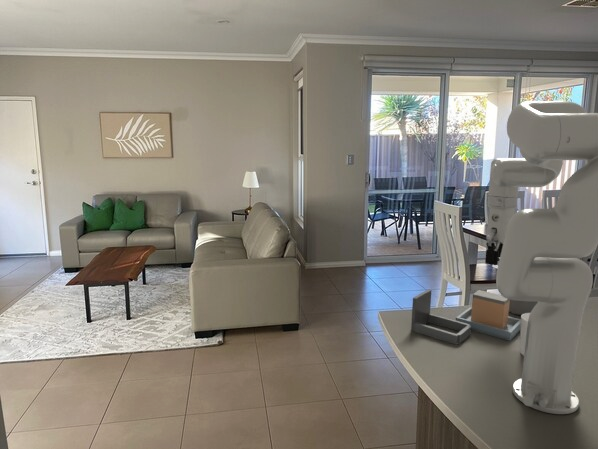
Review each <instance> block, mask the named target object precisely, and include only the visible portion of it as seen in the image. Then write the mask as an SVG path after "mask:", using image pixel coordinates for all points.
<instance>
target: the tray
mask: <svg viewBox="0 0 598 449" xmlns="http://www.w3.org/2000/svg"><path fill="white" fill-rule="evenodd" d="M471 311H472V306H469V308H466V310H464V311H463V312H462V313H460V314H459V315H457V316H455V320H456V321H459V322H463V323H467V324H470V325H471V331H474V332H478V333H481V334H483V335H487V336H492V337H495V338H498V339H501V340H506V341H512V340H513V339H514V337H515V336H516V335H517V334H518V333H519V332H520V329H521V318H515V317H513V316H509V315H508V324H507V327H506V328H505V329H500V328H497V327H493V326H489V325H486V324H482V323H478V322H474V321H471Z"/></svg>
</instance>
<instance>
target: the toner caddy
mask: <svg viewBox="0 0 598 449" xmlns="http://www.w3.org/2000/svg"><path fill="white" fill-rule="evenodd" d="M471 299H472V301H471V302H472V303H471V307H472V311H471V321H474V322H478V323H482V324H486V325H489V326H493V327H497V328H500V329H505V328H506V327H507V324H508V316H509V313H510V312H509V304H510V299H507V298H505V297H503V296H502V295H501V294H500V293H499V294H497V293H494V292H489V291H484V290H481V289H478V290H477V291H476V292H474V293H473V294H472V298H471Z"/></svg>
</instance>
